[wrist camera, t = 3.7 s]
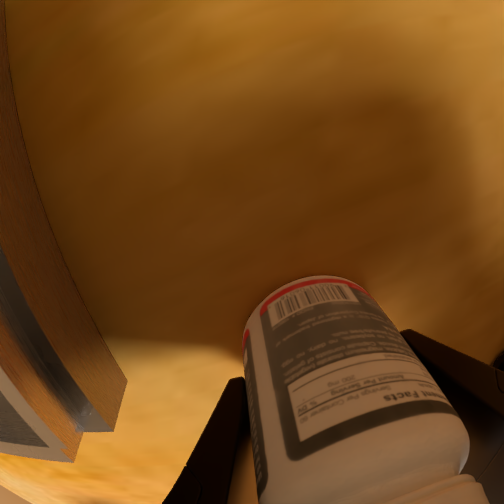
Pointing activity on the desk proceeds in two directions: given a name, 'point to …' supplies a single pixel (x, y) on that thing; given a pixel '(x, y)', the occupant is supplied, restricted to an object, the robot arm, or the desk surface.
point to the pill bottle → (346, 405)
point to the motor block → (43, 318)
